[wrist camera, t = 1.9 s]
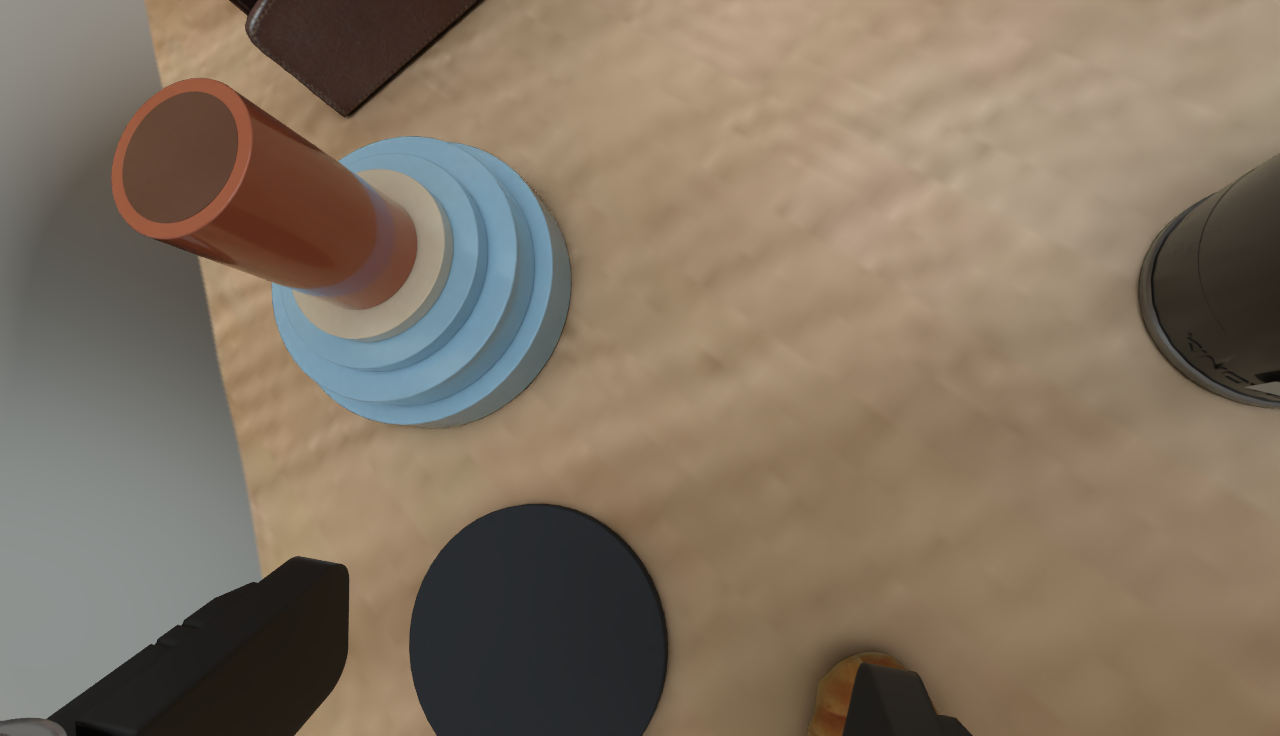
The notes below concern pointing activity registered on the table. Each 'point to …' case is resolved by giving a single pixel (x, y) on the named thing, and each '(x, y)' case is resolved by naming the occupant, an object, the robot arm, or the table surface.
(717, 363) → the table surface
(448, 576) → the mat
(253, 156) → the tumbler
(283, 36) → the letter holder
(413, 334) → the tiered blue disc stack
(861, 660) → the pastry
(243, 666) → the robot arm
